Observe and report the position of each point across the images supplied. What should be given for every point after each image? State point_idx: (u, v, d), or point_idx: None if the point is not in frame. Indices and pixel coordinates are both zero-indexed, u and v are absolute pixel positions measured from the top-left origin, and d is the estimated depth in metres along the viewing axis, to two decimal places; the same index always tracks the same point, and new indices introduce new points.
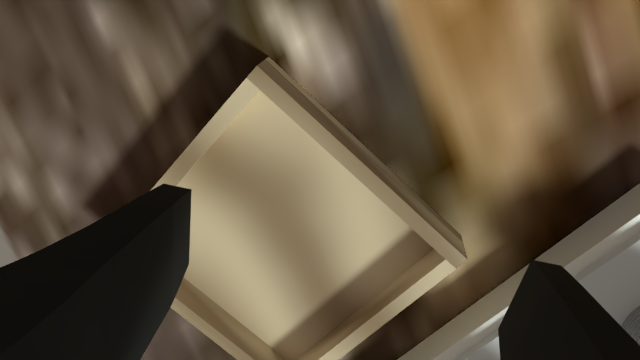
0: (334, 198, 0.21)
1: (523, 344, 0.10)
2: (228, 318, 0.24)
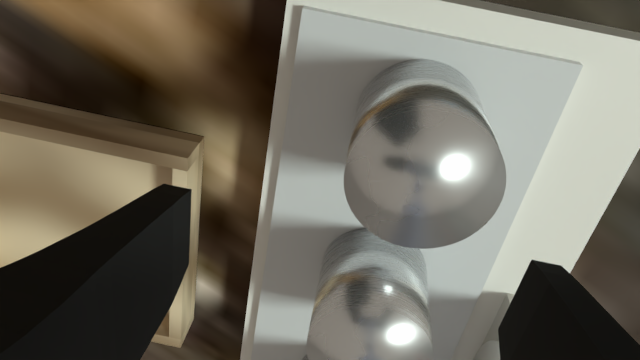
0: (82, 166, 0.22)
1: (523, 343, 0.10)
2: None
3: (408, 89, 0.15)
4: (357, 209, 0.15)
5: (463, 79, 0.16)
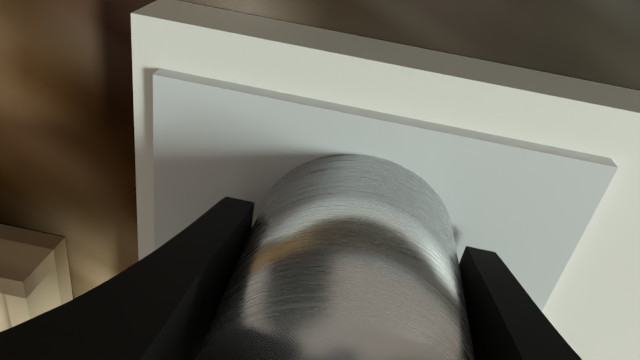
0: None
1: None
2: None
3: (306, 237, 0.08)
4: None
5: (418, 192, 0.10)
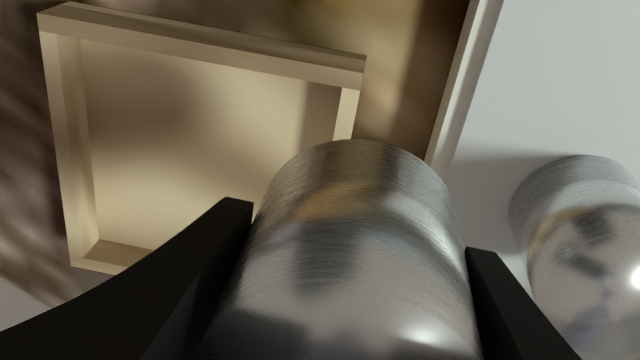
0: (216, 97, 0.19)
1: None
2: None
3: (321, 216, 0.08)
4: None
5: (428, 180, 0.10)
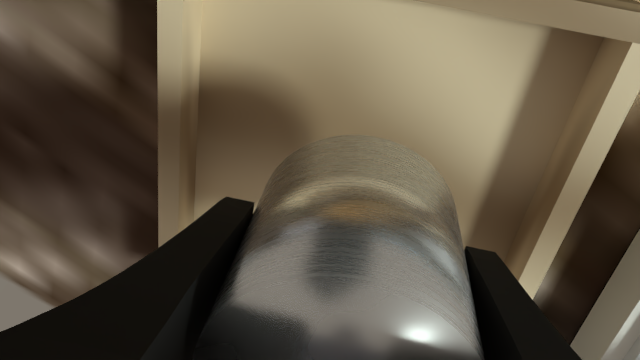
0: (398, 62, 0.13)
1: None
2: None
3: (325, 210, 0.08)
4: None
5: (430, 178, 0.10)
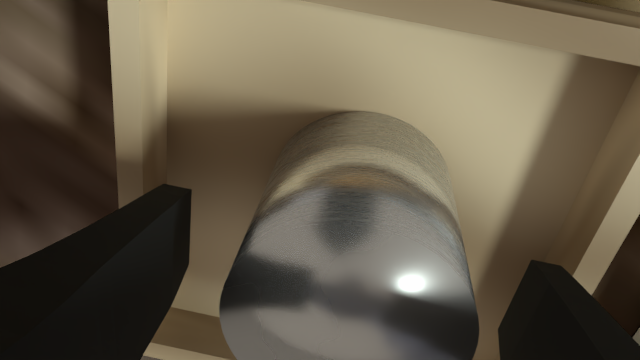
0: (398, 91, 0.11)
1: (522, 343, 0.10)
2: None
3: (335, 171, 0.09)
4: (243, 352, 0.09)
5: (427, 149, 0.11)
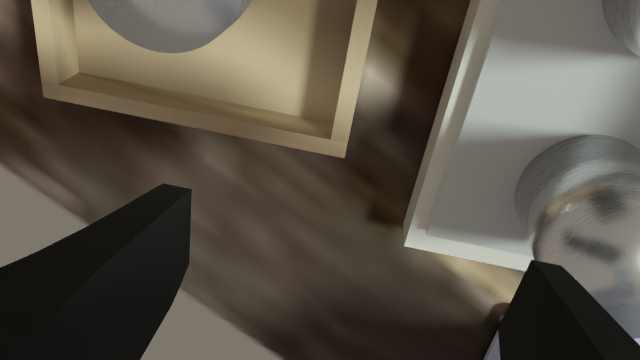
0: None
1: (523, 343, 0.10)
2: (229, 105, 0.19)
3: None
4: None
5: None
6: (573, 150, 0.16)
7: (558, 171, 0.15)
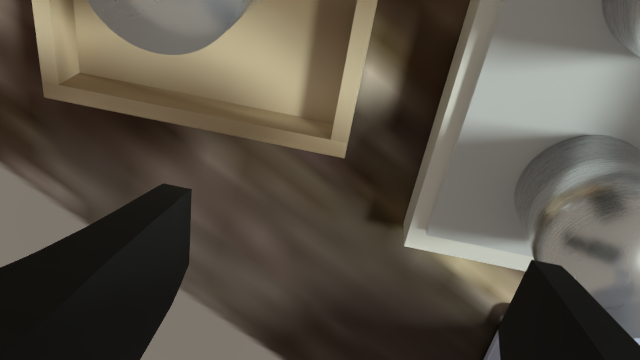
0: None
1: (522, 343, 0.10)
2: (229, 105, 0.19)
3: None
4: None
5: None
6: (573, 151, 0.16)
7: (558, 171, 0.16)
